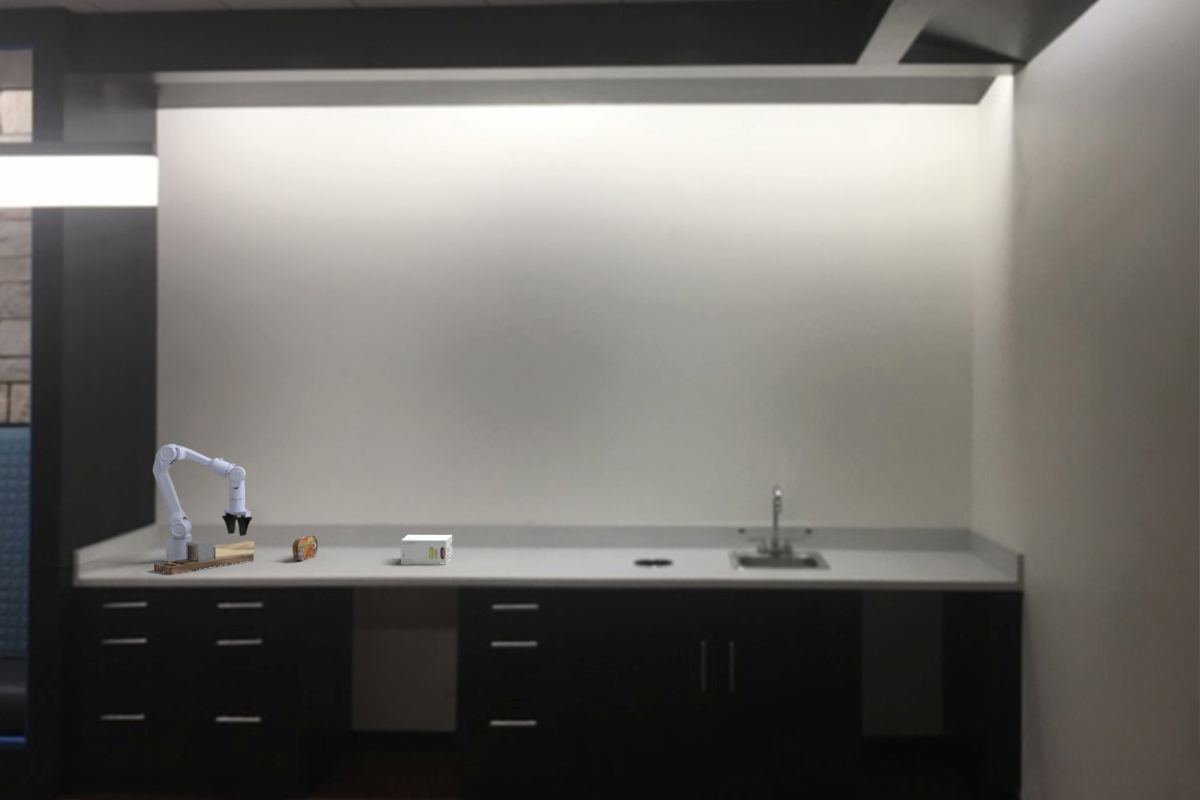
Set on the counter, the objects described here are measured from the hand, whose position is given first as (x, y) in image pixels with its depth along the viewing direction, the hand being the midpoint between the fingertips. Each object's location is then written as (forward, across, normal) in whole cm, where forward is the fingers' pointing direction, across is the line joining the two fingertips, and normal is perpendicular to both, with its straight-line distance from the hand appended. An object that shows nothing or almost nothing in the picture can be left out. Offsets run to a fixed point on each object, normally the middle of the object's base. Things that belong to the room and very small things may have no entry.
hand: (237, 534), depth 369 cm
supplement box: (+9, -63, -38) cm, 74 cm away
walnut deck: (+9, -3, +15) cm, 18 cm away
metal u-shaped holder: (+7, -3, +17) cm, 19 cm away
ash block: (+7, -3, +4) cm, 9 cm away
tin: (+9, -21, -15) cm, 28 cm away
